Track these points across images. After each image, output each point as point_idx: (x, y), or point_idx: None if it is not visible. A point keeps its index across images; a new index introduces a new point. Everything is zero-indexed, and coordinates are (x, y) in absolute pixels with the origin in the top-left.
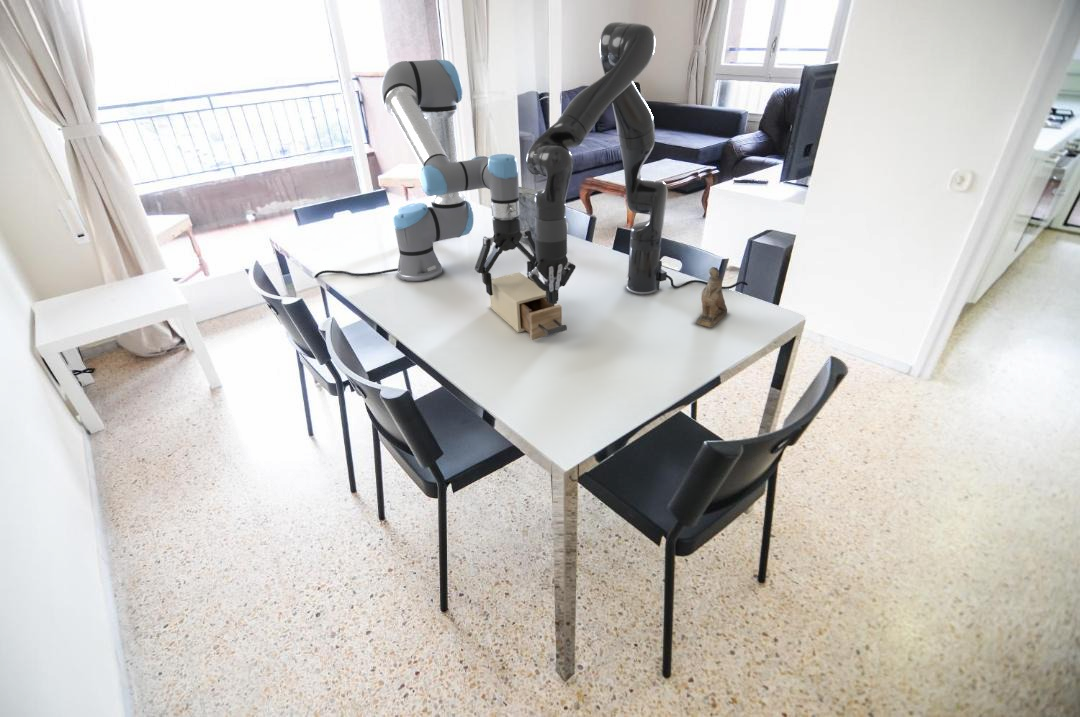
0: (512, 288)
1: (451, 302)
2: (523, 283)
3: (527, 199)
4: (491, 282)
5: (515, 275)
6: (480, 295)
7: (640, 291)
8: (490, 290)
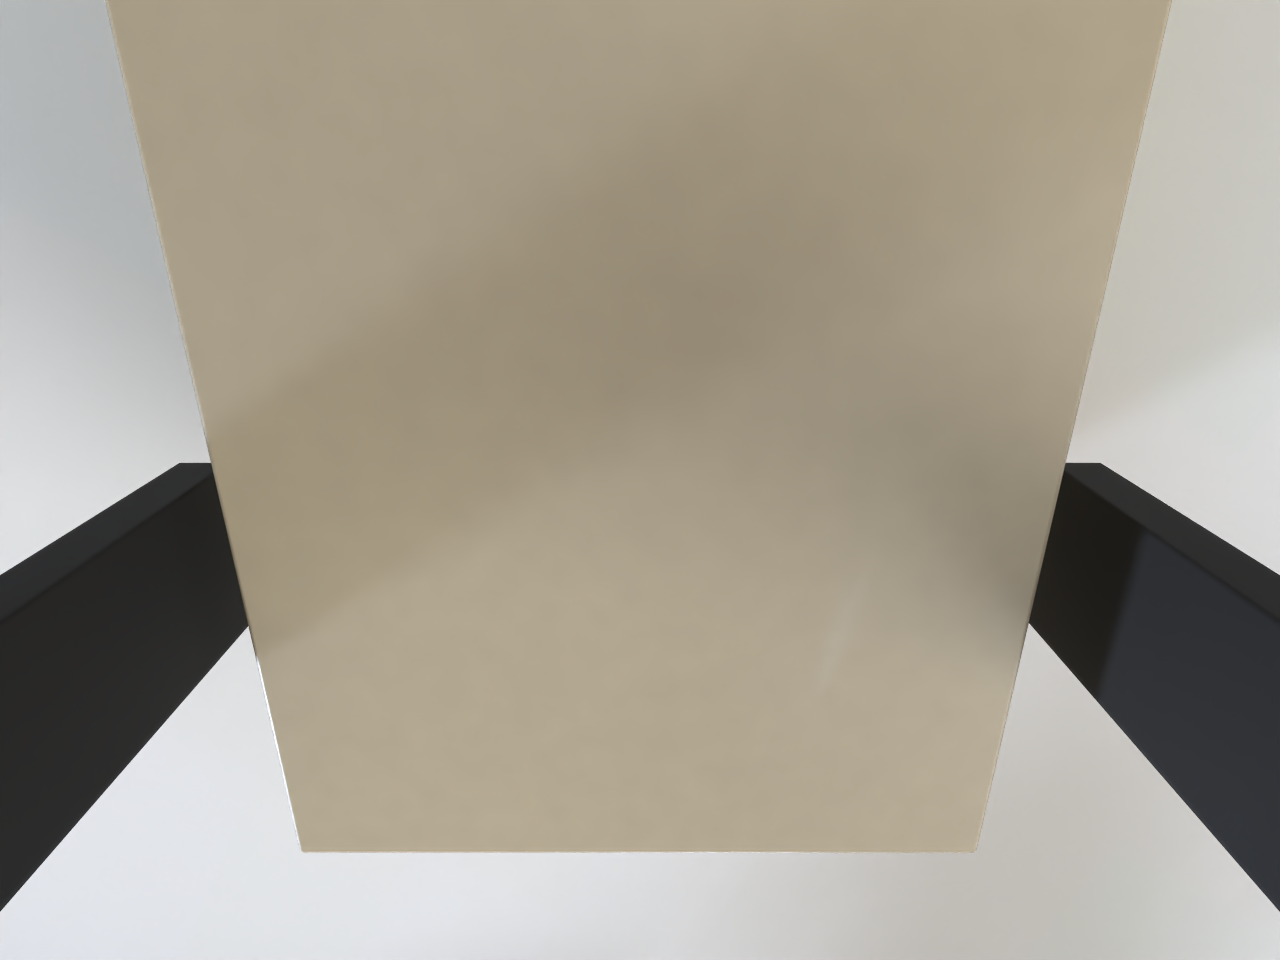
0: (840, 160)
1: (1073, 856)
2: (443, 303)
3: None
4: (1233, 590)
5: (432, 774)
6: (767, 853)
7: None
8: (1150, 502)
